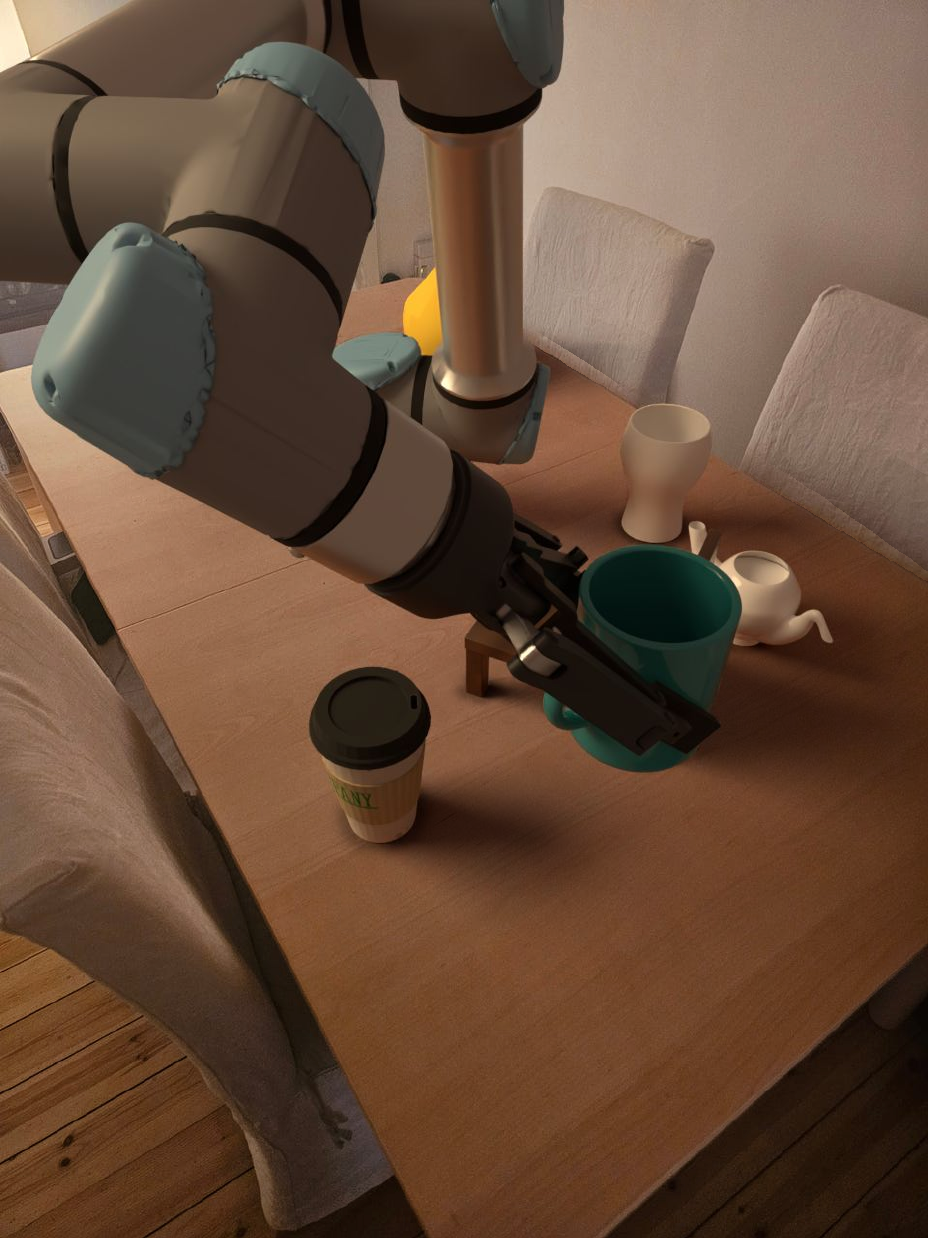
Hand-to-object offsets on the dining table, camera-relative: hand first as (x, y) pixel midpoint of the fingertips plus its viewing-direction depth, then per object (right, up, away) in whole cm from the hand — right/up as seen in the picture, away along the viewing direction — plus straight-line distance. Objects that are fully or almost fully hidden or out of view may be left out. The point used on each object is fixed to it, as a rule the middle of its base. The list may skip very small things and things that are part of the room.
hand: (662, 677), depth 51 cm
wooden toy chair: (0, -3, +36) cm, 36 cm away
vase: (-13, +45, +88) cm, 100 cm away
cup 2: (-3, -4, +2) cm, 5 cm away
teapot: (+19, +2, +41) cm, 45 cm away
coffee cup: (-20, -14, +24) cm, 34 cm away
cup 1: (+12, +16, +56) cm, 59 cm away
